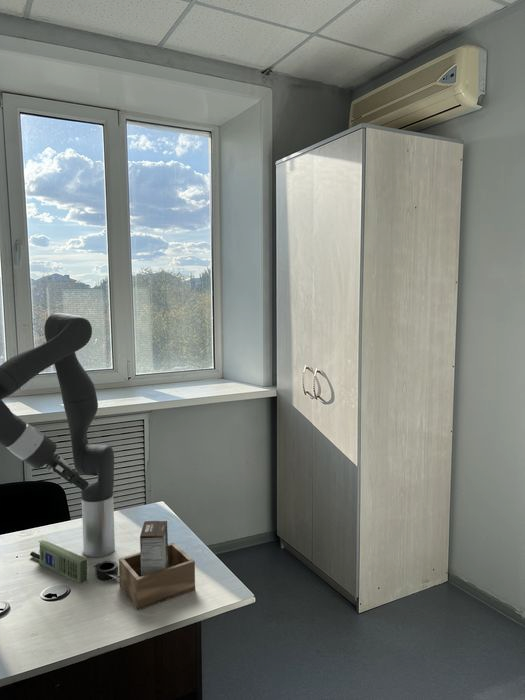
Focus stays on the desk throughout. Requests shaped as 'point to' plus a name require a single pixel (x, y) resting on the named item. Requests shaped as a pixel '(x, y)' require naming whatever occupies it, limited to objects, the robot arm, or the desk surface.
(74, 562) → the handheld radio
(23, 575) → the desk surface
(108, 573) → the black wing nut
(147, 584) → the walled box
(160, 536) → the coffee box
